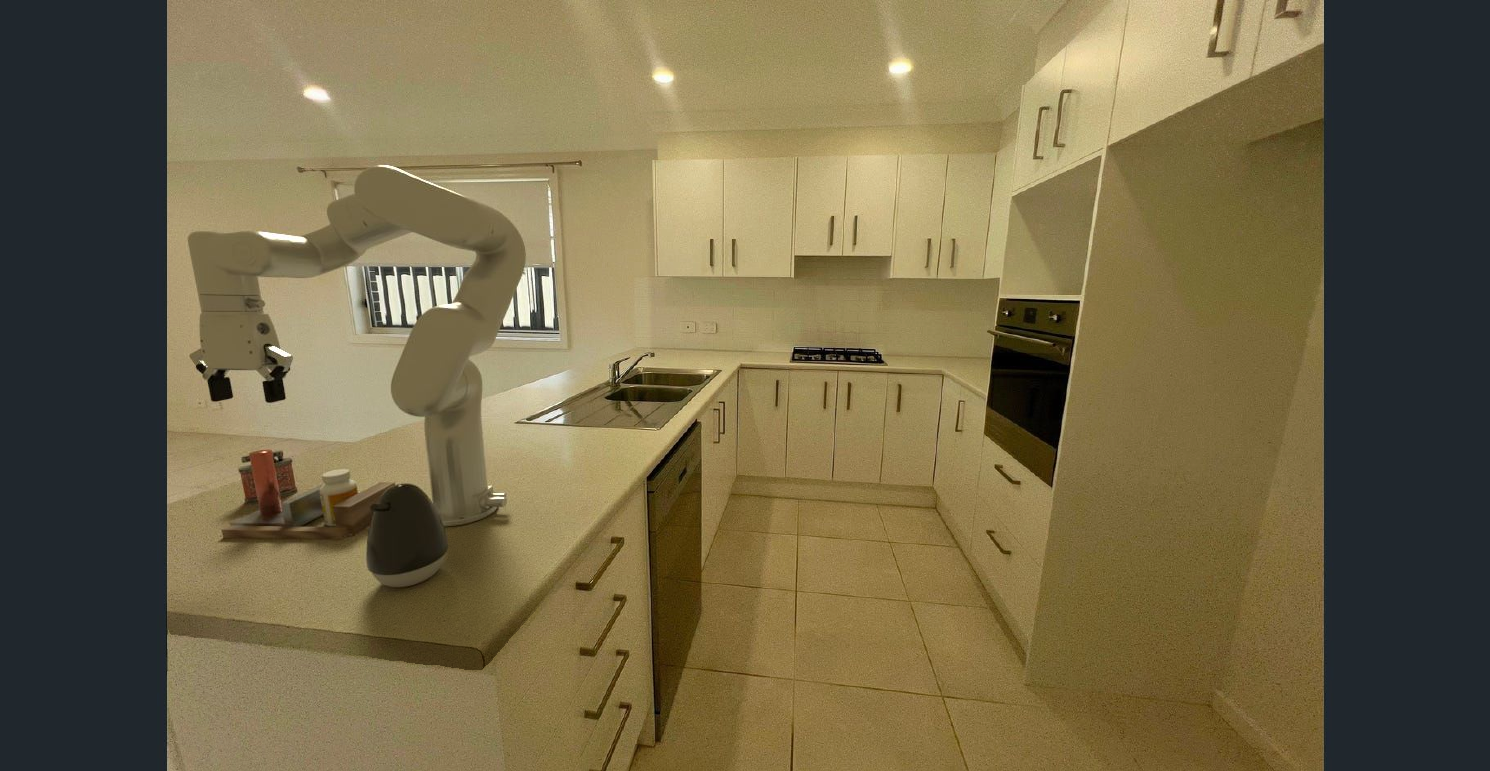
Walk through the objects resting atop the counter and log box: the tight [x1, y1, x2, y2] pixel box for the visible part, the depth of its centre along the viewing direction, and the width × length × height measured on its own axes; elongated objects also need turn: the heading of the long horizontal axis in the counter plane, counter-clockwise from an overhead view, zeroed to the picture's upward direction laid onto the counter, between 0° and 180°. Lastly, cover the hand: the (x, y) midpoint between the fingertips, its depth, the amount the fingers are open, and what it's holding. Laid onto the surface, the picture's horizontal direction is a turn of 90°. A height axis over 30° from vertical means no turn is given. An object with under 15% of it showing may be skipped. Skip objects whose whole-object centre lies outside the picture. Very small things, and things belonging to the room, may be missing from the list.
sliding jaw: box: [229, 449, 325, 527], centre depth 89 cm, size 12×9×13 cm
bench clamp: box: [221, 481, 396, 540], centre depth 90 cm, size 22×14×6 cm, turn 90°
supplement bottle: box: [319, 468, 359, 527], centre depth 90 cm, size 5×5×10 cm
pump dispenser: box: [365, 482, 449, 588], centre depth 72 cm, size 10×10×15 cm
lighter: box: [237, 449, 299, 504], centre depth 100 cm, size 8×3×10 cm, turn 144°
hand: (249, 400), depth 86 cm, fingers open, 9 cm apart
